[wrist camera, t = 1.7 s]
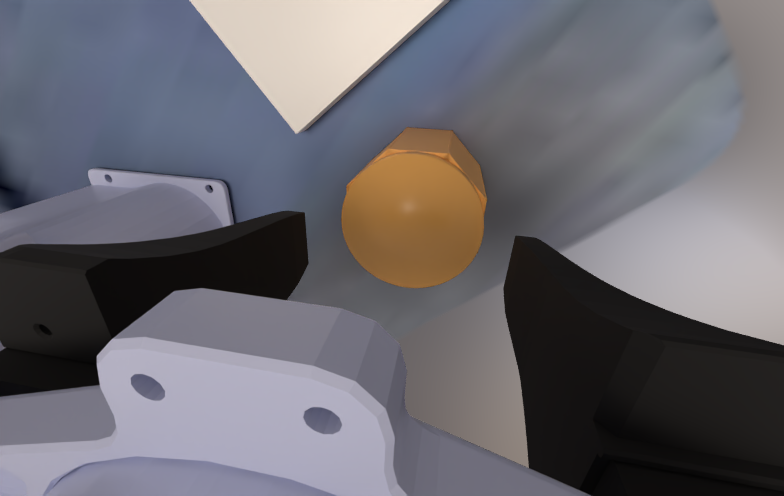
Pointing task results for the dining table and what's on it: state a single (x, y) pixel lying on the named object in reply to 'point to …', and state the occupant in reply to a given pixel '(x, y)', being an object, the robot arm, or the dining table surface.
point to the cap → (416, 210)
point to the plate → (312, 45)
